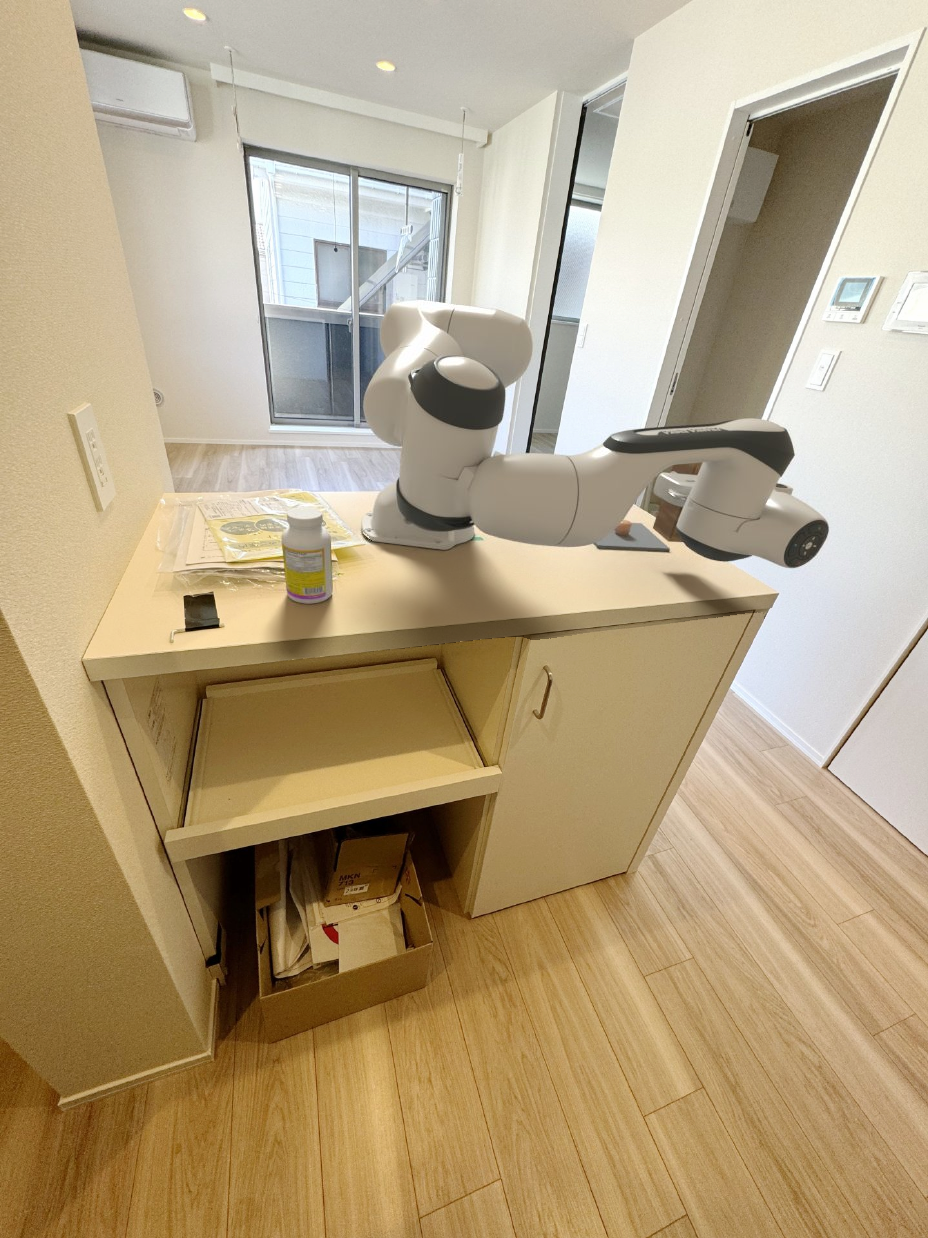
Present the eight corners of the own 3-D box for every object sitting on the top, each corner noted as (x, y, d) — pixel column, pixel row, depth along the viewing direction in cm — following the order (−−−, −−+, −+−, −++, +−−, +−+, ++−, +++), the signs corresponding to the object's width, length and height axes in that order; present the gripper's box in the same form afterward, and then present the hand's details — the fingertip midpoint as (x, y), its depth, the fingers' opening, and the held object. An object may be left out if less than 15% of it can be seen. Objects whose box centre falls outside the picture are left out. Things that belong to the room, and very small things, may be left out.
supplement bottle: (305, 579, 79) (299, 500, 73) (341, 590, 78) (339, 510, 71) (276, 597, 74) (268, 514, 67) (315, 610, 72) (310, 525, 66)
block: (668, 541, 93) (704, 436, 83) (652, 528, 98) (684, 428, 89) (699, 543, 94) (739, 440, 84) (682, 529, 100) (717, 431, 90)
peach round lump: (617, 536, 109) (620, 524, 107) (611, 530, 111) (614, 519, 110) (630, 536, 109) (634, 525, 108) (624, 530, 112) (628, 519, 110)
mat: (597, 547, 103) (597, 545, 103) (575, 522, 115) (576, 519, 115) (668, 551, 106) (669, 548, 106) (640, 525, 118) (641, 523, 117)
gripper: (671, 519, 80) (634, 490, 91) (785, 526, 83) (735, 497, 95) (685, 479, 76) (645, 455, 88) (802, 488, 80) (749, 463, 91)
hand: (693, 477), depth 91 cm, fingers closed on block, 6 cm apart
